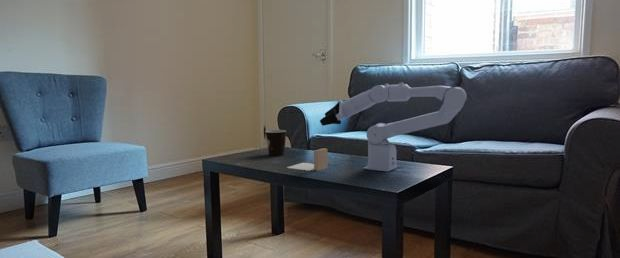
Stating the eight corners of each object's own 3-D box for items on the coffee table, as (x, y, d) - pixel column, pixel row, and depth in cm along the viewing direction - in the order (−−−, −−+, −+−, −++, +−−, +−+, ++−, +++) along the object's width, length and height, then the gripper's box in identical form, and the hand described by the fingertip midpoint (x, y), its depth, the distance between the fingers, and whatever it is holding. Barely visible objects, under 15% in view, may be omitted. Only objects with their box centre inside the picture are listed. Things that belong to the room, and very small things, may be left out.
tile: (327, 167, 163) (327, 148, 162) (318, 171, 158) (317, 151, 157) (323, 167, 164) (322, 148, 163) (313, 170, 159) (313, 150, 158)
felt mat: (325, 166, 166) (325, 165, 166) (309, 171, 158) (309, 170, 157) (302, 163, 171) (302, 162, 171) (286, 168, 163) (286, 167, 163)
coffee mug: (267, 153, 195) (266, 130, 194) (287, 152, 195) (286, 129, 194) (264, 158, 183) (263, 133, 182) (285, 157, 183) (285, 133, 182)
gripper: (354, 88, 166) (323, 104, 171) (347, 100, 153) (313, 116, 158) (363, 105, 167) (331, 120, 172) (357, 118, 154) (323, 133, 159)
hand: (323, 119), depth 165 cm, fingers open, 7 cm apart
